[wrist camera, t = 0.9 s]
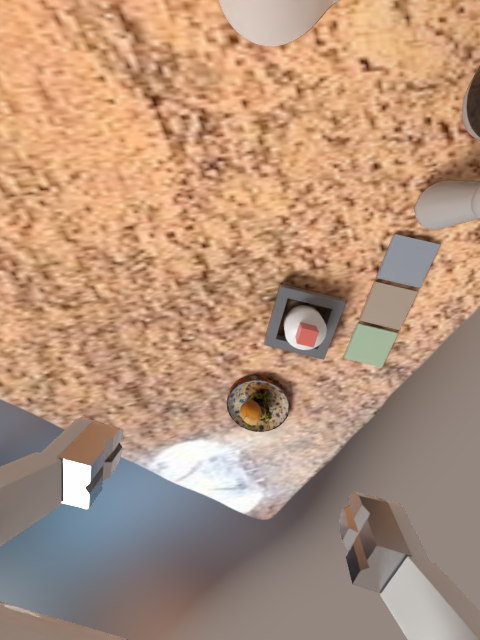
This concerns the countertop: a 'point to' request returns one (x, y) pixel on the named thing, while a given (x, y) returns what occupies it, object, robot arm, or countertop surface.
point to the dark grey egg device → (472, 107)
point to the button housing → (311, 297)
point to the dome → (304, 327)
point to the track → (390, 298)
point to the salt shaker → (448, 204)
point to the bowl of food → (258, 403)
